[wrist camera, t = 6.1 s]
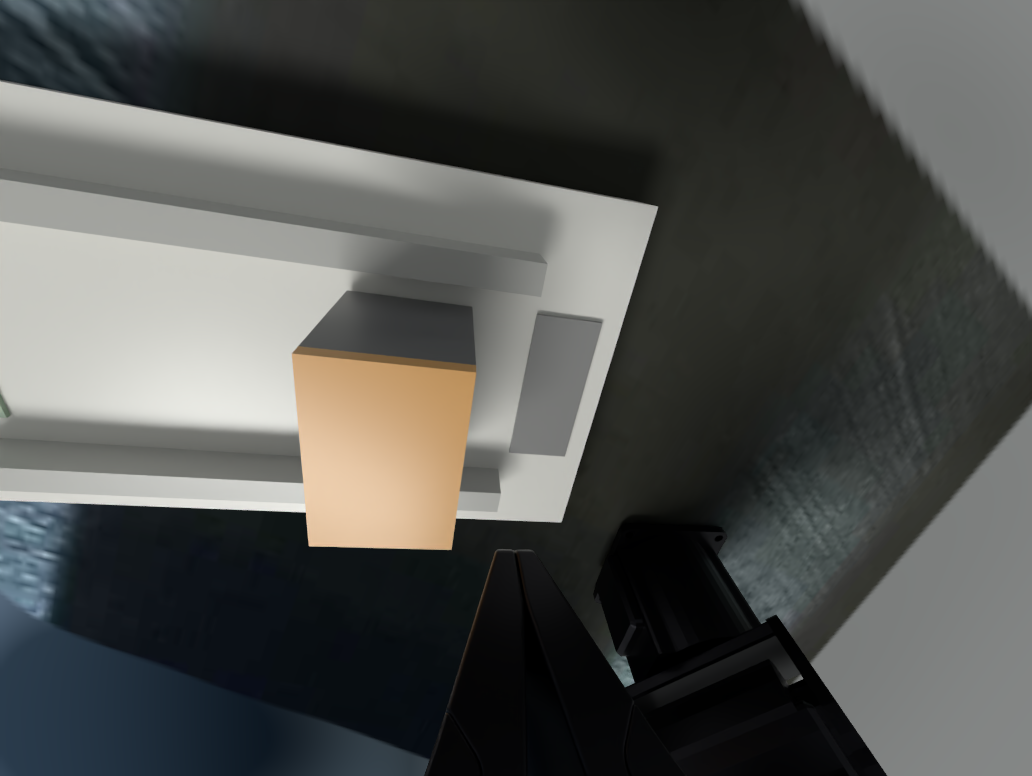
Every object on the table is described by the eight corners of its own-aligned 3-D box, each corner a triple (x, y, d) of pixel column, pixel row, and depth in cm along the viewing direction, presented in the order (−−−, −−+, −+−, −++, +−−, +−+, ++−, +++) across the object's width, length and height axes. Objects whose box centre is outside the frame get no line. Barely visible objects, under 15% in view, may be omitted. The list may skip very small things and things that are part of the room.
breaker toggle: (472, 306, 14) (476, 372, 10) (454, 449, 17) (451, 549, 12) (347, 290, 13) (291, 353, 9) (350, 442, 16) (308, 545, 12)
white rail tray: (635, 200, 15) (679, 211, 12) (553, 492, 21) (568, 548, 18) (-232, 35, 11) (-509, -14, 8) (-6, 463, 17) (-106, 529, 14)
